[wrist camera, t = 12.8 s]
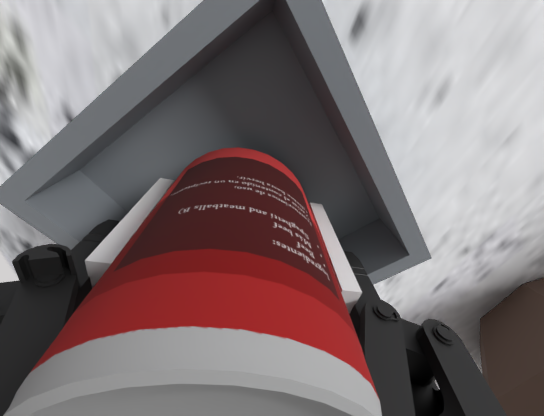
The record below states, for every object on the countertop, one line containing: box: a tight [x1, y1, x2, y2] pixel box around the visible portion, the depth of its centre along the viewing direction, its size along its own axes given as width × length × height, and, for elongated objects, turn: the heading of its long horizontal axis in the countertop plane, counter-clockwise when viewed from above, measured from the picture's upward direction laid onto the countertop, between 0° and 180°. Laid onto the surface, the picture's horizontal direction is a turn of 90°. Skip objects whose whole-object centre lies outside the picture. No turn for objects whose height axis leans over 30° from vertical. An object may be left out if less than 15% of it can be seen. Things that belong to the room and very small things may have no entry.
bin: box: [0, 0, 431, 284], centre depth 15 cm, size 16×16×5 cm
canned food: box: [3, 147, 382, 416], centre depth 10 cm, size 8×8×11 cm
